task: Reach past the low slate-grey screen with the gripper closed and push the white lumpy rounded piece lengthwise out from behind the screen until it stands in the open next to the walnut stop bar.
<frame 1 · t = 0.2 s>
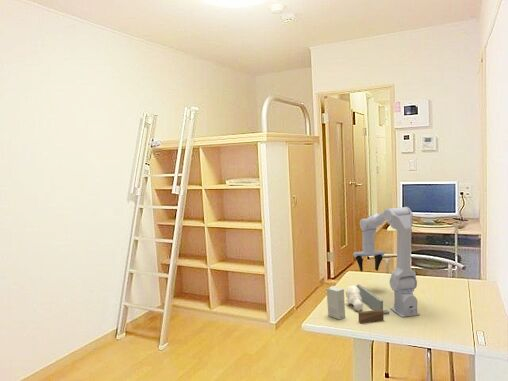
hand: (368, 270, 194), 10 cm above the table, tool pointing down, fingers open, 7 cm apart
white lumpy rounded piece: (355, 307, 175), on the table
skincare box: (336, 317, 166), on the table
screen: (369, 305, 176), on the table
stop bar: (371, 321, 160), on the table
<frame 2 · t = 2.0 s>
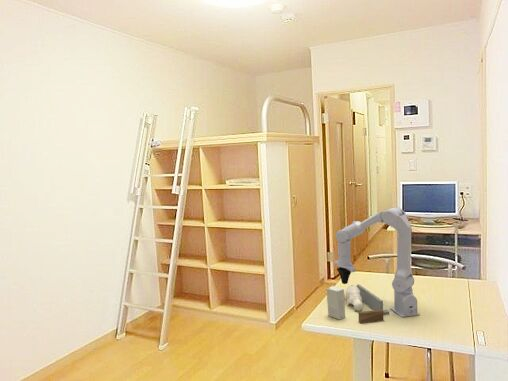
hand: (344, 283, 185), 7 cm above the table, tool pointing down, fingers closed
nothing on the table moved.
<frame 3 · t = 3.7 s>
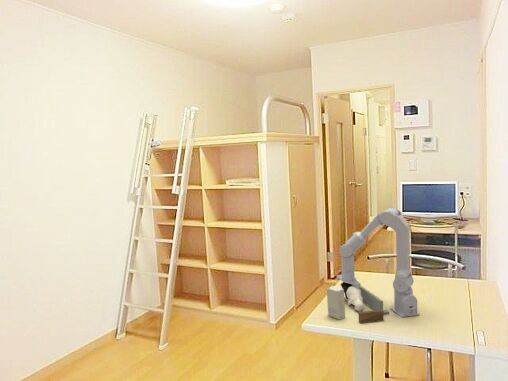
hand: (348, 298, 182), 1 cm above the table, tool pointing down, fingers closed
white lumpy rounded piece: (356, 308, 174), on the table, touching gripper
everything else where it was.
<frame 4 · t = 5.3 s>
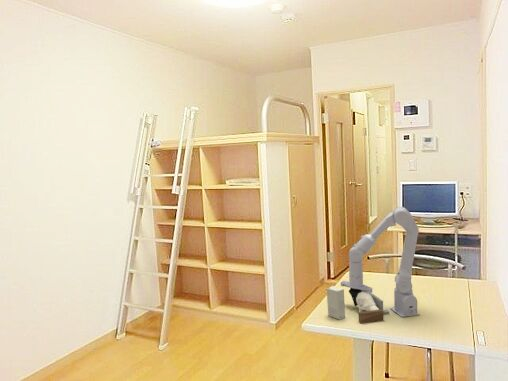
hand: (356, 305, 174), 1 cm above the table, tool pointing down, fingers closed
white lumpy rounded piece: (369, 314, 167), on the table, touching gripper, stop bar
everything else where it was.
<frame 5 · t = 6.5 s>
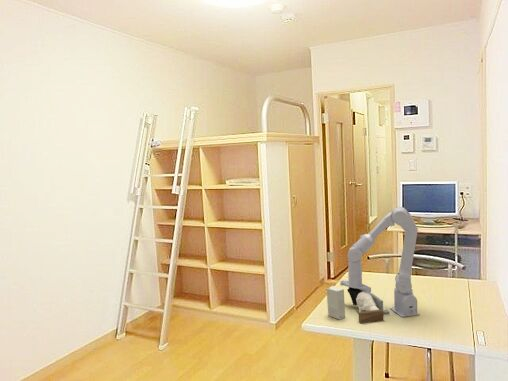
hand: (355, 304, 175), 1 cm above the table, tool pointing down, fingers closed
white lumpy rounded piece: (369, 314, 167), on the table
everything else where it was.
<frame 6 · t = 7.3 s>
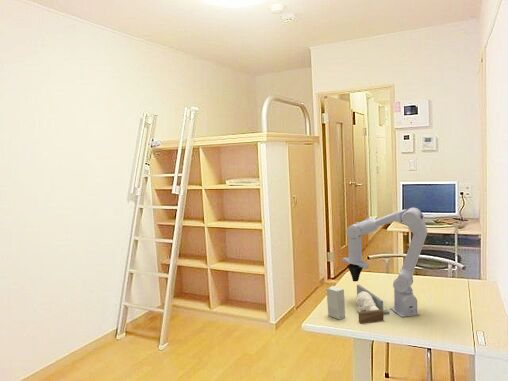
hand: (355, 280, 178), 10 cm above the table, tool pointing down, fingers closed
nothing on the table moved.
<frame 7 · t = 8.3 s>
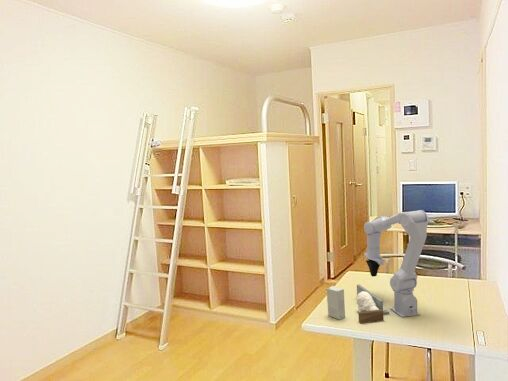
hand: (373, 275, 184), 10 cm above the table, tool pointing down, fingers closed
nothing on the table moved.
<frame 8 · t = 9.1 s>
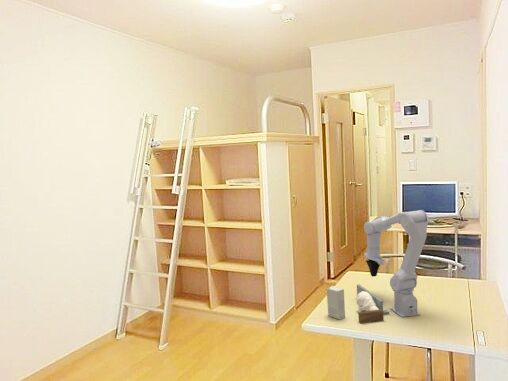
hand: (373, 275, 184), 10 cm above the table, tool pointing down, fingers closed
nothing on the table moved.
at the end: white lumpy rounded piece inside the target area (2.8 cm from its centre), on the table; white lumpy rounded piece moved 8.9 cm from its start; white lumpy rounded piece tilted 0° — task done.
